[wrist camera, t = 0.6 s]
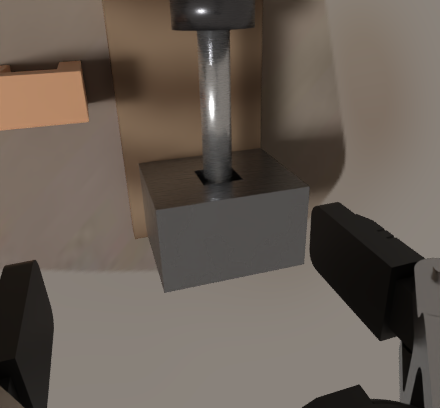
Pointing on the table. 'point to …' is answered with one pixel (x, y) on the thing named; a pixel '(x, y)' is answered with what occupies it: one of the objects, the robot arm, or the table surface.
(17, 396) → the robot arm
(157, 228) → the block
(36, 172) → the table surface
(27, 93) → the spacer
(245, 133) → the baseboard
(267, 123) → the table surface
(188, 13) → the shaft
